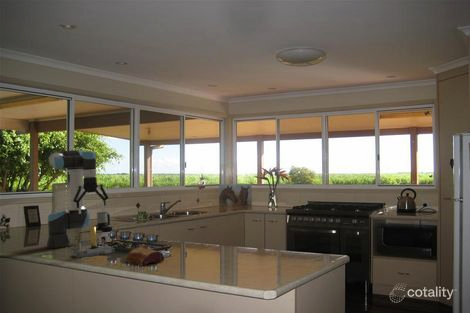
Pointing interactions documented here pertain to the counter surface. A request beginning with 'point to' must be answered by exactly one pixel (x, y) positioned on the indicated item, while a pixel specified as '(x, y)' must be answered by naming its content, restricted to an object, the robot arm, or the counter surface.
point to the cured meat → (144, 256)
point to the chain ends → (94, 251)
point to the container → (105, 234)
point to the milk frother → (102, 220)
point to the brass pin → (93, 237)
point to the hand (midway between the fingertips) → (91, 212)
